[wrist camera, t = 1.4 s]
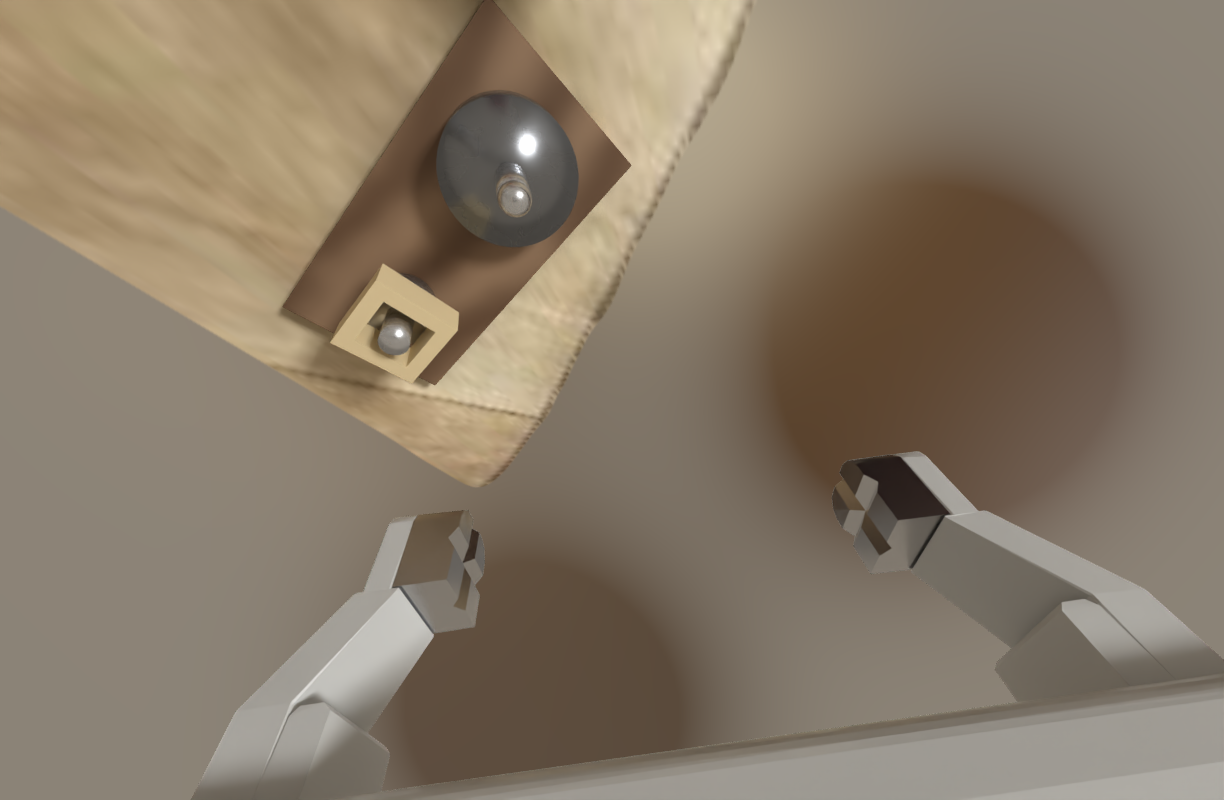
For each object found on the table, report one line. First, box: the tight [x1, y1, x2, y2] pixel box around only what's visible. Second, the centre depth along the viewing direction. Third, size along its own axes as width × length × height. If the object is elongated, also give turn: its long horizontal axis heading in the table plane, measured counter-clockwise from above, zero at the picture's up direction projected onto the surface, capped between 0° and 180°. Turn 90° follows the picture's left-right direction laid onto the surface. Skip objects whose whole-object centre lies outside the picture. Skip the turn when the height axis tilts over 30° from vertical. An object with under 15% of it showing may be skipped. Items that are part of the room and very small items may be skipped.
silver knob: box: [368, 273, 435, 355], centre depth 36 cm, size 5×5×7 cm
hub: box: [436, 90, 579, 247], centre depth 30 cm, size 10×10×9 cm
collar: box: [330, 264, 459, 383], centre depth 35 cm, size 7×7×3 cm
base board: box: [283, 0, 631, 385], centre depth 37 cm, size 14×28×2 cm, turn 134°
